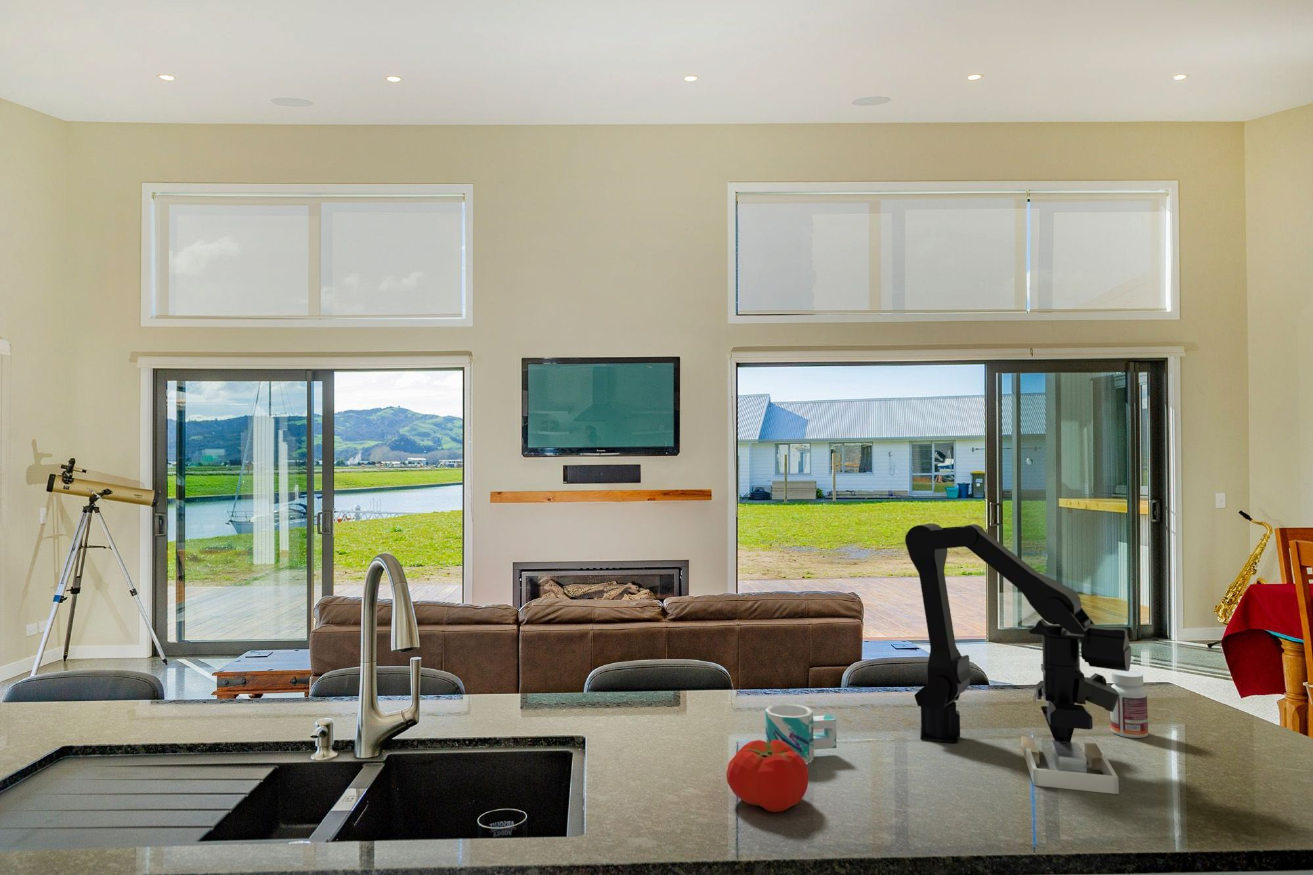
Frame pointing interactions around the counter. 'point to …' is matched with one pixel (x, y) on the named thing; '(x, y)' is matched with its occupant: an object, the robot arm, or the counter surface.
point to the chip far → (1063, 746)
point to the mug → (800, 729)
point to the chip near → (1070, 760)
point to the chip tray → (1074, 777)
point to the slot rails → (1089, 751)
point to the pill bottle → (1129, 705)
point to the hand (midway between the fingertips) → (1063, 754)
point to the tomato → (768, 775)
